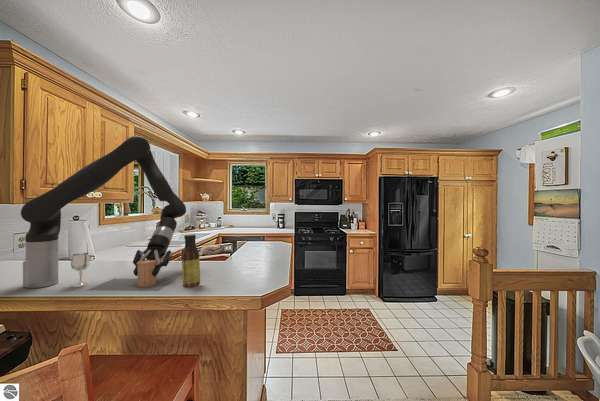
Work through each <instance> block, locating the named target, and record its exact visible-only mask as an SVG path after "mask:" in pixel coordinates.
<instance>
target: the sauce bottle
mask: <svg viewBox="0 0 600 401" xmlns="http://www.w3.org/2000/svg"><path fill="white" fill-rule="evenodd" d="M196 236H197V235H196V234H194V233H191V234H190V233H189V234H185V235H184V241H185V242H184V249H183V250H182V252H181V256H182V260H181V266H182V268H181V269H182V272H181V273H182V286H183V287H184V288H195V287H199V286H200V285H201V282H200V281H201V272H200V271H201V270H200V268H201V266H200V265H201V264H200V254H199V251H198V248H197V245H196V244H197V243H196V239H197V237H196Z"/></svg>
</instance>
